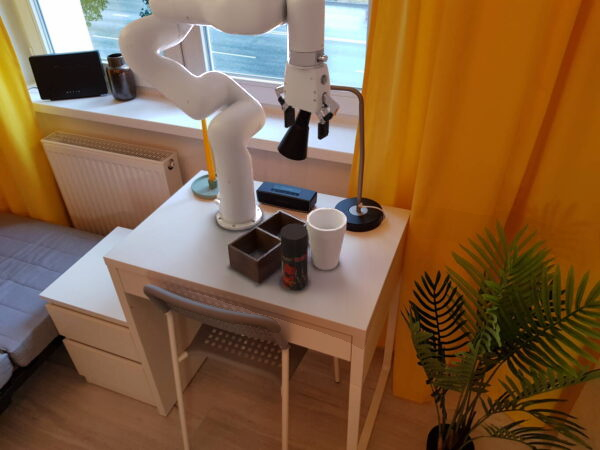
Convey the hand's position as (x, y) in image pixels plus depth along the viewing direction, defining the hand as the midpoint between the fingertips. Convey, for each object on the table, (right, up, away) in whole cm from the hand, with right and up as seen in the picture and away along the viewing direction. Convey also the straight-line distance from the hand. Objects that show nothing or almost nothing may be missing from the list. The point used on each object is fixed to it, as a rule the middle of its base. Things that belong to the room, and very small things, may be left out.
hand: (306, 131), depth 112 cm
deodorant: (-3, -35, +4) cm, 35 cm away
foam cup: (+5, -31, +10) cm, 33 cm away
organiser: (-9, -29, +11) cm, 33 cm away
